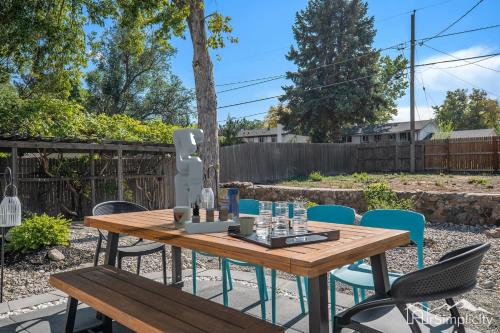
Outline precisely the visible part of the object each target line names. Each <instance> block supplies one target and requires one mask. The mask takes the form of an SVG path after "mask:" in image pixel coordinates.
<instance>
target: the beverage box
mask: <svg viewBox="0 0 500 333" xmlns="http://www.w3.org/2000/svg"><path fill="white" fill-rule="evenodd" d="M219 207H228V219H230V220H233V221H236V224H237V225H240V223H239V219H238V217H240V188H232V187H231V188H228V187H227V188H225V187H224V188H223V187H221V188H218V220H220V209H219Z"/></svg>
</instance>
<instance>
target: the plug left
mask: <svg viewBox="0 0 500 333" xmlns="http://www.w3.org/2000/svg"><path fill="white" fill-rule="evenodd" d="M191 220H192V223H200V221H201V215H199V216H193V215H191Z"/></svg>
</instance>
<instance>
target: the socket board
mask: <svg viewBox="0 0 500 333" xmlns="http://www.w3.org/2000/svg"><path fill="white" fill-rule="evenodd" d="M184 224H185V228H184V232H186V233H188V234H190V235H192V234H206V233H218V232H229V231H228V227H229V226H235V225H236V221H233V220H230V219H228V221H220V220H219V219H214V222H206V219H205V220H200V223H192V221H186V222H184ZM236 226H237V225H236Z"/></svg>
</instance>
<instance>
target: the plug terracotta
mask: <svg viewBox="0 0 500 333" xmlns="http://www.w3.org/2000/svg"><path fill="white" fill-rule="evenodd" d="M219 209H220V221H228V207H219V206H218V210H219Z"/></svg>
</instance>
